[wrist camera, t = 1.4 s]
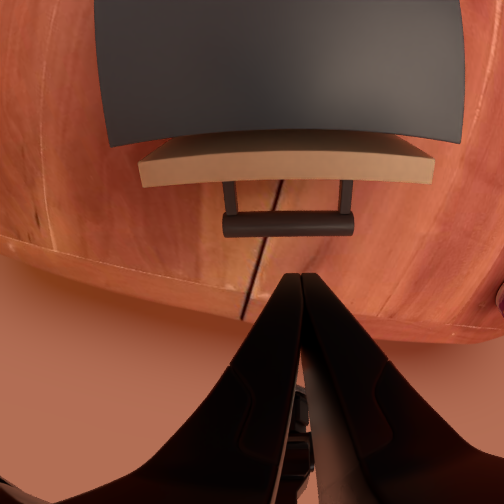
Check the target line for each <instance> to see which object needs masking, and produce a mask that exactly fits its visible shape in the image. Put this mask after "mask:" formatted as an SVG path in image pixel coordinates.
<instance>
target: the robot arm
mask: <svg viewBox="0 0 504 504" xmlns="http://www.w3.org/2000/svg"><path fill="white" fill-rule="evenodd" d="M300 351H301V360H302V367H303V374H304V381H305V389H306V396H307V400H306V399H305V398H303V397H302V396H300V395H299V394H297V393H296V392H295V388H296V381H297V374H298V365H299V358H300ZM387 361H388V357H387V356H386V355H385V354H384V352H383V351H382V350H381V349H380V347H379V346H378V345H377V344H376V343H375V341H374V340H373V339H372V338H371V336H370V335H369V334H368V333H367V332H366V330H365V329H364V328H363V327H362V326H361V324H360V323H359V322H358V321H357V320H356V318H355V317H354V316H353V315H352V314H351V313H350V311H349V310H348V309H347V308H346V307H345V305H344V304H343V303H342V302H341V301H340V300H339V298H338V297H337V296H336V295H335V294H334V293H333V291H332V290H331V289H330V288H329V287H328V286H327V285H326V283H325V282H324V281H323V280H322V279H321V278H320V276H319V275H318V274H316V273H302V274H301V276H300V274H299V273H285V274H284V275H283V277H282V279H281V280H280V282H279V284H278V285H277V287H276V289H275V290H274V292H273V294H272V295H271V297H270V299H269V300H268V302H267V304H266V305H265V307H264V309H263V310H262V312H261V314H260V315H259V317H258V319H257V320H256V322H255V324H254V325H253V327H252V328H251V330H250V332H249V333H248V335H247V337H246V338H245V340H244V342H243V343H242V345H241V346H240V348H239V349H238V351H237V353H236V354H235V356H234V357H233V359H232V361H231V362H230V366H228V367H227V368H226V370H225V371H224V373H223V375H222V376H221V378H220V379H219V380H218V382H217V383H216V385H215V386H214V387H213V389H212V390H211V392H210V393H209V395H208V396H207V397H206V398H205V400H204V401H203V402H202V403H201V404H200V406H199V407H198V408H197V409H196V411H195V412H194V413H193V414H192V415H191V416H190V417H189V418H188V419H187V421H186V422H185V423H184V424H183V425H182V426H181V427H180V428H179V429H178V431H177V432H176V433H175V434H174V435H173V436H172V437H171V438H170V439H169V440H168V441H167V442H166V443H165V444H164V446H162V447H161V449H160V450H159V451H158V452H157V453H156V454H155V455H154V456H153V457H152V458H151V459H149V460H148V461H147V462H146V463H145V464H143V465H142V466H141V467H139V468H138V469H137V470H135V471H133V472H131V473H130V474H128V475H126V476H123V477H121V478H119V479H117V480H114V481H112V482H110V483H108V484H105V485H103V486H100V487H98V488H95V489H93V490H90V491H88V492H85V493H82V494H80V495H77V496H74V497H71V498H69V499H66V500H63V501H59V502H57V503H53V504H297V499H298V498H299V497H300V495H301V494H302V493H303V491H304V490H305V489H306V487H307V484H308V480H309V475H310V472H313V471H314V465H315V468H316V477H317V487H318V494H319V496H318V497H319V504H504V458H502V457H498V456H494V455H491V454H488V453H485V452H482V451H480V450H478V449H476V448H475V447H473V446H471V445H470V444H469V443H468V442H466V441H465V440H464V439H463V438H462V437H461V436H459V434H458V433H457V432H456V431H455V430H454V429H453V428H452V427H451V426H450V425H449V424H448V423H447V422H446V421H445V420H444V419H443V418H442V417H441V416H440V415H439V414H438V413H437V412H436V411H435V410H434V409H433V408H432V407H431V406H430V405H429V404H428V403H427V402H426V401H425V400H424V399H423V398H422V397H421V396H420V395H419V394H418V393H417V392H416V390H415V389H414V388H413V387H412V386H411V385H410V384H409V382H407V380H406V379H405V378H404V377H403V375H402V374H401V373H400V372H399V371H398V369H397V368H396V367H395V366H394V364H393V363H392V362H391V361H388V362H387ZM308 411H309V415H308ZM309 418H310V426H311V432H306V426H308V424H309ZM0 504H52V503H49V502H47V501H44V500H41V499H39V498H37V497H34V496H32V495H29V494H27V493H25V492H23V491H22V490H20V489H19V488H18V487H16V486H15V485H13V484H12V483H10V482H8V481H7V480H6V479H4V478H2V477H1V476H0Z"/></svg>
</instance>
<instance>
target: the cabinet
mask: <svg viewBox="0 0 504 504" xmlns="http://www.w3.org/2000/svg"><path fill="white" fill-rule="evenodd" d="M94 20H95V40H96V53H97V64H98V74H99V82H100V90H101V97H102V104H103V111H104V117H105V123H106V128H107V134H108V139H109V144H110V147H111V148H112V147H117V146H123V145H128V144H133V143H139V142H145V141H151V140H158V139H165V138H172V137H180V136H188V135H197V134H207V133H218V132H231V131H248V130H273V129H323V130H347V131H363V132H376V133H387V134H396V135H405V136H413V137H420V138H427V139H434V140H440V141H446V142H451V143H457V144H460V143H461V136H462V126H463V114H464V97H465V53H464V36H463V25H462V16H461V9H460V2H459V0H94Z"/></svg>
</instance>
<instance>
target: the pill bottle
mask: <svg viewBox="0 0 504 504" xmlns="http://www.w3.org/2000/svg"><path fill="white" fill-rule="evenodd" d="M496 305H497V307H498V309H499V310H500V312H501V314H502V315H503V317H504V283H503V284H502V286H501V287H500V289H499V291H498V293H497V296H496Z"/></svg>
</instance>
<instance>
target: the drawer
mask: <svg viewBox="0 0 504 504" xmlns="http://www.w3.org/2000/svg"><path fill="white" fill-rule="evenodd" d="M434 165H435V159H434V158H433V157H431V156H429V155H428V154H426V153H425V152H423V151H422V150H420V149H418V148H417V147H415V146H413V145H412V144H410V143H408V142H407V141H405V140H403V139H401V138H400V137H398V136H396V135H394V134H387V133H376V132H363V131H347V130H323V129H273V130H248V131H231V132H218V133H207V134H197V135H188V136H180V137H174V138H172V139H171V140H169V141H168V142H166V143H165V144H163V145H162V146H160V147H159V148H157V149H156V150H155V151H153V152H152V153H150V154H149V155H147V156H146V157H145V158H143V159H142V160H140V161H139V162H138V168H139V173H140V177H141V182H142V187H143V188H146V187H156V186H167V185H178V184H191V183H206V182H222V183H223V192H224V201H225V210H226V212H225V213H224V214H223V219H222V228H223V235H224V237H225V238H233V237H297V236H352V235H353V232H354V216H353V213H352V211H350V210H351V200H352V188H353V180H369V181H389V182H406V183H419V184H432V178H433V172H434ZM279 179H334V180H340V186H339V200H338V210H339V211H249V212H238V203H237V192H236V181H244V180H279Z"/></svg>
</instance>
